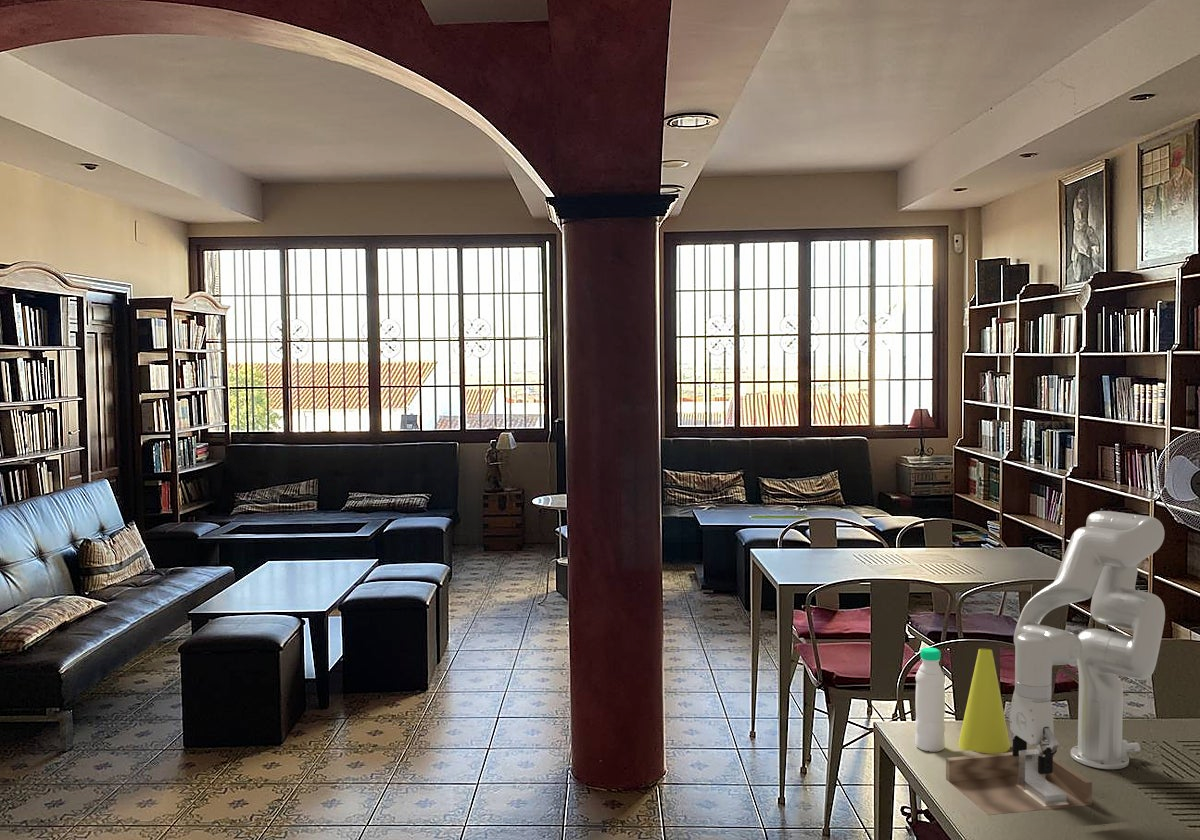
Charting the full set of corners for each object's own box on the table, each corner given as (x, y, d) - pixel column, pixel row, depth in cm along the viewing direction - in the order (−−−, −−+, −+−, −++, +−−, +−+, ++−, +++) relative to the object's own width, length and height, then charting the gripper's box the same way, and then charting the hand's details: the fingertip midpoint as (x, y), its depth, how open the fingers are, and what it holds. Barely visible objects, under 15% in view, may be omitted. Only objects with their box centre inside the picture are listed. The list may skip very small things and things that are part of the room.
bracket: (1018, 785, 225) (1018, 750, 224) (1038, 783, 226) (1039, 748, 225) (1045, 805, 215) (1045, 769, 214) (1066, 802, 216) (1067, 767, 215)
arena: (1041, 774, 233) (1042, 749, 232) (1091, 809, 215) (1092, 782, 215) (945, 783, 229) (946, 757, 229) (988, 819, 211) (988, 791, 211)
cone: (958, 735, 257) (959, 640, 255) (1010, 741, 252) (1011, 644, 251) (957, 753, 245) (958, 654, 244) (1011, 760, 241) (1012, 659, 239)
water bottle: (946, 753, 246) (947, 654, 244) (916, 751, 247) (917, 652, 245) (942, 742, 252) (943, 645, 251) (913, 740, 254) (914, 644, 252)
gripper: (996, 678, 230) (995, 750, 231) (1040, 704, 213) (1039, 782, 214) (1026, 676, 231) (1025, 747, 233) (1072, 701, 214) (1071, 779, 216)
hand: (1032, 764), depth 224 cm, fingers open, 9 cm apart
